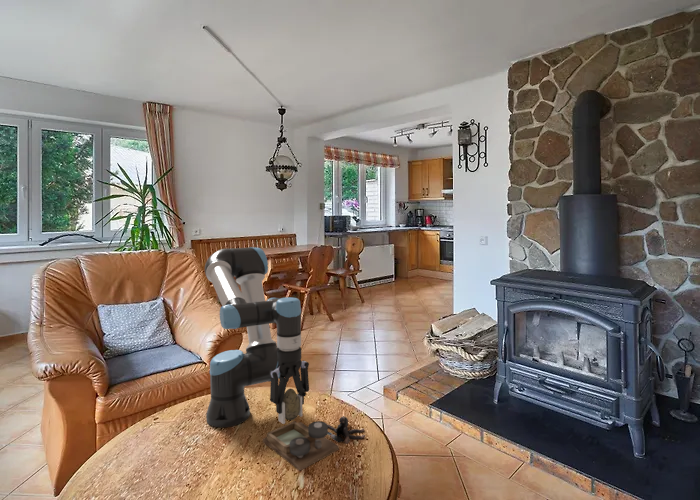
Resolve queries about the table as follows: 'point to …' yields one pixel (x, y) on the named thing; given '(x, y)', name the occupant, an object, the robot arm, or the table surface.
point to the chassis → (299, 445)
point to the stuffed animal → (344, 431)
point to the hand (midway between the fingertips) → (290, 418)
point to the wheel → (318, 429)
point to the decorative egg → (291, 404)
